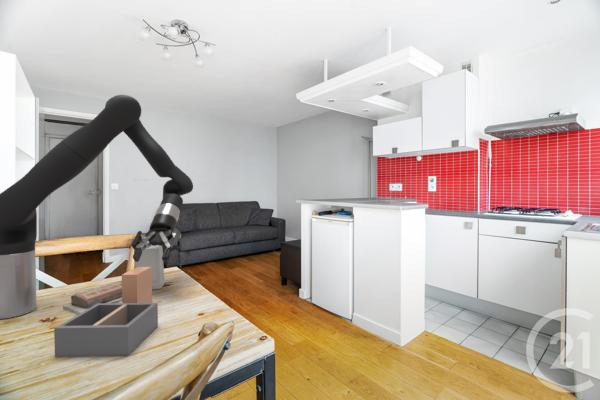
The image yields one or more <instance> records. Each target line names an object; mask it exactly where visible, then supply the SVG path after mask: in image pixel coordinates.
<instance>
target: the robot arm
mask: <svg viewBox="0 0 600 400" xmlns="http://www.w3.org/2000/svg"><path fill="white" fill-rule="evenodd" d="M141 116H142V106H141V104H140V102H139V101H138V99H136V98H134V97H133V96H131V95H127V94H117V95H114V96H112V97H110V98H109V99H107V101H106V103H105V107H104V108H103V109H102V110H101V111H100V112H99V113H98V114H97V115H96V117H94V118H93V119H92V120H91V121H90V122H88V123H86V124H85V125H83V126H82V127H80V128H78V129H77V130H75V131H73V132H72V133H71V134H69V135H67V136H66V137H64V138H63V139H62V140H61V141H60V142H58V143H57V144H56V145H55V146H54V147H53V148H51V149H50V150H49V151H48V152H47V153H46V154H45V155H44V156H43V157H42V158H41V159H40V160H38V161H37V163H36V164H35V165H34V166H33V167H31V168H30V170H29V171H27V173H25V175H23V176H22V177H21V178H20V179H19V180H17V181H16V182H15V183H14V184H12V185H11V186H9V187H8V188H6V189H4V190H3V191H2V192H0V320H2V319H3V320H4V319H9V318H10V319H11V318H15V317H19V316H24V315H25V314H29V313H31V312H33V311H35V310H37V267H36V266H37V263H36V241H37V236H38V235H37V233H38V231H37V228H38V224H37V221H38V220H37V219H38V218H37V216H38V215H37V214H38V213H37V208H38V207H39V206H40V205H41V204H42V202H44V200H46V199H47V198H48V197H49V196H50V195H51V194H52V193H54V192H55V191H57V190H58V189H60V188H61V187H63V186H64V185H66V184H68V183H69V182H70V181H72V180H73V179H74V178H76V177H77V176H78V175H80V173H82V172H83V171H84V170H85V169H86V168H87V167H89V166H90V165H91V164H92V162H94V161H95V160H96V159H97V158H98V157H99V155H100V154H101V153H103V151H104V150H105V149H107V147H108V145H110V143H111V142H112V141H113V140H114V139H115V138H116V137H118V136H119V135H121V133H124V134H125V135H126V136H127V137H128V138H129V139H130V141H131V142H132V143H133V144H134V145H135V147H136V148H137V149H138V151H140V153H141V155H142V156H143V157H144V158H145V160H146V161H147V162H148V164H149V165H150V167H151V168H152V170H153V171H154V172H155V173H156V175H157V176H158V177H159V178H170V179H168V180H166V182H165V183H164V184H163V187H162V200H161V202H160V204H159V207H158V208H157V209H156V211H155V213H154V216H153V218H152V220H151V224H150V226H149V229H148V231H147V232H142V231H141V230H139V231H137V233H136V235H135V237H134V238H133V240H132V241H131V244H130V246H131V247H132V249H133V255H132V259H133V260H135V262H139V259H140V257H141V255H142V251H143V250H145V249H146V248H149V247H150V246H156V245H159V246H162V247H163V245H165V247H166V248H164V250H163V256H162V260H163V263H164V262H167V261H168V260H170V256H171V254H172V252H173V251H178V250H180V246H181V241H182V238H183V236H182V233H181V232H180V230H177V231H176V232H175V229H176V227H177V223H178V221H179V217H180V213H181V210H182V207H183V205H184V204H183V203H184V199H183V197H182V196H184V195H186V194H190V193H191V192H193V189H194V183H193V181H192V179H191V178H190V177H189V175H187V174H186V173H185V172H184V171H183V170H182V169H181V168H179V167H178V166H177V165H176V164H175V163H174V162H173V160H172V159H171V157H170V156H169V154H168V153H167V151H165V149H164V148H163V147H162V146H161V144H159V143H158V141H156V140H155V139H154V137H153V136H152V135H151V134H150V133H149V132H148V131H147V129H146V128H145V126H144V124H143V123H142V122H141V119H140V118H141ZM171 239H173V243H172V244H171V243H170V242H169V241H170V240H171ZM134 250H135V252H134Z"/></svg>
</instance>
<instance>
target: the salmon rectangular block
mask: <svg viewBox="0 0 600 400" xmlns="http://www.w3.org/2000/svg"><path fill="white" fill-rule="evenodd" d="M121 281H122V301H121V303H153V289H152V267H137V268H135V267H134V268H133V269H131V270H129V271H127V272H124V273H123V274H121Z"/></svg>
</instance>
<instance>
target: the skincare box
mask: <svg viewBox="0 0 600 400" xmlns="http://www.w3.org/2000/svg"><path fill="white" fill-rule="evenodd" d="M134 252H135V250H134V249H133V253H134ZM163 253H164V250H163V245H162V246H159V245H156V246H150V247H149V248H146V249H145V250H143V251H142V255H141V257H140V259H139V262H135V260H134V259H133V260H134V261H133V262H134V269H135V268H137V267H152V290H160V289H162V287H164V285H165V282H166V281H165V271H164V270H165V269H164V262H163V260H162V256H163Z"/></svg>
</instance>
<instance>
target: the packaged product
mask: <svg viewBox="0 0 600 400" xmlns="http://www.w3.org/2000/svg"><path fill="white" fill-rule="evenodd" d="M70 300H71V302H68V303H64V304H62V305H61V306H62V309H63V310H65V311H68V312H71V313H74V314H76V315H78V314H80V313H82V312H83V311H85V310H87V309H89V308H90V307H92V306H94V305H96V304H97V303H122V280H119V281H116V282H113V283H108V284H105V285H102V286H98V287H94V288H91V289H88V290H87V289H86V290H84V291H81V292H77V293H74V294H72V295H71V296H70Z"/></svg>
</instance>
